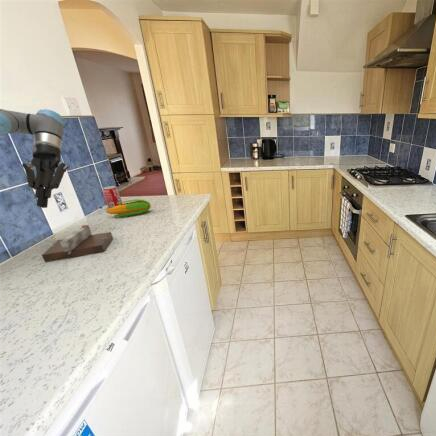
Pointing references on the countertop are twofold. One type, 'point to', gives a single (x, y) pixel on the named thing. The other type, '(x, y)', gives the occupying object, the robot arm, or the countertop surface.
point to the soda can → (111, 196)
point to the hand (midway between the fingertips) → (42, 206)
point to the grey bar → (75, 238)
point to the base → (79, 247)
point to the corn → (130, 208)
